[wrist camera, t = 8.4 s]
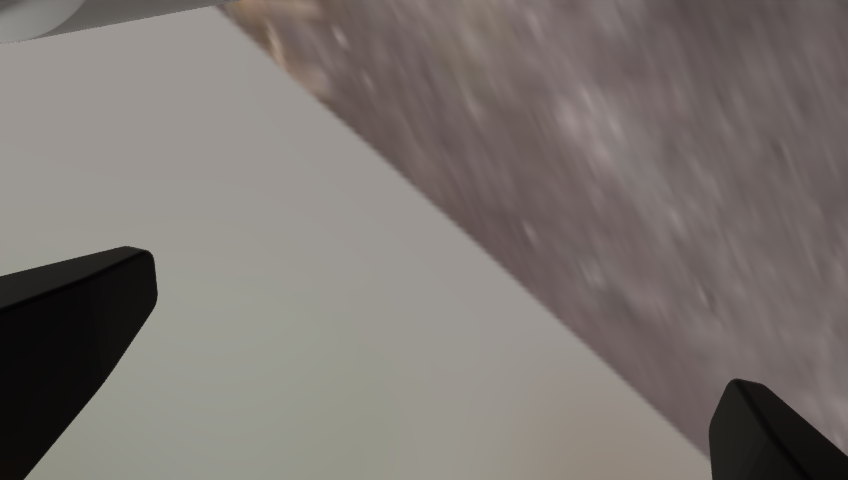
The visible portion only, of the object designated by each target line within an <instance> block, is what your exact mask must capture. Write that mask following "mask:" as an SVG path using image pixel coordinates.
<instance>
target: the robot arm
mask: <svg viewBox="0 0 848 480" xmlns="http://www.w3.org/2000/svg"><path fill="white" fill-rule="evenodd" d="M157 296H158V292H157V282H156V272H155V263H154V257H153V255H152V254H151V253H150V252H149V251H147V250H143V249H139V248H134V247H130V246H123V247H119V248H114V249H111V250H107V251H102V252H98V253H94V254H90V255H86V256H82V257H78V258H73V259H70V260H65V261H61V262H57V263H53V264H49V265H45V266H41V267H37V268H33V269H28V270H24V271H20V272H16V273H12V274H8V275H4V276H0V480H24V479H25V478H26V476H27V475H28V474H29V473H30V472H31V470H32V469H33V468H34V467H35V465H36V464H37V463H38V462H39V461H40V460H41V458H42V457H43V456H44V455H45V454H46V452H47V451H48V450H49V449H50V447H51V446H52V445H53V444H54V443H55V442H56V440H57V439H58V438H59V437H60V435H61V434H62V433H63V432H64V431H65V430H66V428H67V427H68V426H69V425H70V424H71V422H72V421H73V420H74V419H75V417H76V416H77V415H78V414H79V413H80V411H81V410H82V409H83V408H84V407H85V405H86V404H87V403H88V402H89V401H90V399H91V398H92V397H93V396H94V395H95V393H96V392H97V391H98V389H99V388H100V387H101V386H102V384H103V383H104V382H105V380H106V379H107V377H108V376H109V375H110V373H111V372H112V371H113V369H114V368H115V366H116V365H117V363H118V362H119V360H120V359H121V357H122V356H123V354H124V353H125V351H126V350H127V348H128V347H129V345H130V344H131V342H132V341H133V339H134V338H135V336H136V335H137V333H138V332H139V330H140V329H141V327H142V326H143V324H144V323H145V321H146V320H147V318H148V317H149V315H150V314H151V312H152V311H153V309H154V307H155V305H156V301H157ZM709 446H710V458H711V470H712V480H848V456H847V455H846V454H844V453H843V452H842V451H841V450H840V449H839V448H837V447H836V446H835V445H834V444H833V443H832V442H830V441H829V440H828V439H827V438H826V437H825V436H823V435H822V434H821V433H820V432H819V431H818V430H816V429H815V428H814V427H813V426H812V425H811V424H809V423H808V422H807V421H806V420H805V419H804V418H802V417H801V416H800V415H799V414H798V413H797V412H795V411H794V410H793V409H792V408H791V407H790V406H788V405H787V404H786V403H785V402H784V401H783V400H781V399H780V398H779V397H778V396H777V395H776V394H774V393H773V392H772V391H771V390H770V389H769V388H767V387H766V386H765V385H763V384H761V383H756V382H752V381H747V380H742V379H736V378H735V379H733V380H731V381H730V382H729V383H728V384H727V386H726V388H725V390H724V393H723V395H722V397H721V399H720V401H719V404H718V406H717V408H716V410H715V413H714V415H713V417H712V419H711V422H710V426H709Z"/></svg>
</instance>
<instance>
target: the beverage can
mask: <svg viewBox="0 0 848 480" xmlns="http://www.w3.org/2000/svg"><path fill="white" fill-rule="evenodd" d="M235 1H240V0H0V43H13V42H21V41H26V40H32V39H37V38H42V37H47V36H53V35H58V34H63V33H69V32H74V31H80V30H84V29H90V28H95V27H101V26H106V25H112V24H117V23H122V22H127V21H133V20H138V19H144V18H149V17H154V16H160V15H165V14H170V13H176V12H181V11H186V10H192V9H197V8H202V7H208V6H213V5H218V4H224V3H229V2H235Z"/></svg>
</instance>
